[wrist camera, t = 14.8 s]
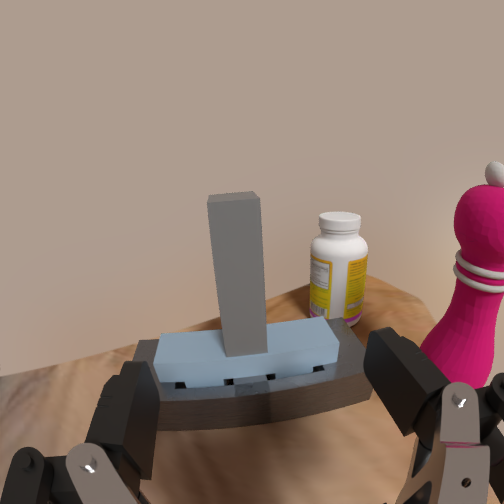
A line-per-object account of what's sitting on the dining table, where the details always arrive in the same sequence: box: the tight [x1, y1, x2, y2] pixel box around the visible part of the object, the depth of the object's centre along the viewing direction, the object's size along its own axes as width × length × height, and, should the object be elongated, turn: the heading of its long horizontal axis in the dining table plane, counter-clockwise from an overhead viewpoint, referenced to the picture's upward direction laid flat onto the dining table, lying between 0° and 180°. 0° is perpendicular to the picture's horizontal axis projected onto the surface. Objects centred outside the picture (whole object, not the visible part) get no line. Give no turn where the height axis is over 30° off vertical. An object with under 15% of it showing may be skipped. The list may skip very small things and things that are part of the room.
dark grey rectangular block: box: [132, 317, 373, 430], centre depth 22 cm, size 20×8×4 cm, turn 97°
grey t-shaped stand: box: [153, 191, 339, 388], centre depth 20 cm, size 14×4×16 cm, turn 97°
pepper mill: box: [420, 161, 504, 389], centre depth 15 cm, size 7×7×20 cm
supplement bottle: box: [310, 212, 368, 327], centre depth 31 cm, size 7×7×13 cm
